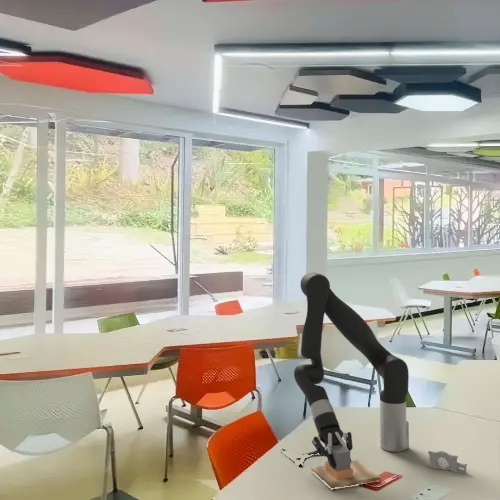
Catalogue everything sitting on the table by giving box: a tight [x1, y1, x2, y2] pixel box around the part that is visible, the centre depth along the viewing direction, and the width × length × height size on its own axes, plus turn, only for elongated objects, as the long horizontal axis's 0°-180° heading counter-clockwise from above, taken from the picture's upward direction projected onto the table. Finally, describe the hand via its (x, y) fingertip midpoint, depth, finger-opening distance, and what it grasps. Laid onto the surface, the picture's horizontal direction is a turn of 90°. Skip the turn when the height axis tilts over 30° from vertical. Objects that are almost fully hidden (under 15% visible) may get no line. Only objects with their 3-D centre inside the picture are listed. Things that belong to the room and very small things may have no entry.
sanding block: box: [324, 444, 353, 480], centre depth 176 cm, size 6×8×8 cm
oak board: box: [310, 459, 381, 488], centre depth 177 cm, size 17×14×2 cm
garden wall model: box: [427, 450, 468, 475], centre depth 181 cm, size 12×2×6 cm, turn 60°
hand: (341, 465), depth 174 cm, fingers closed on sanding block, 4 cm apart
